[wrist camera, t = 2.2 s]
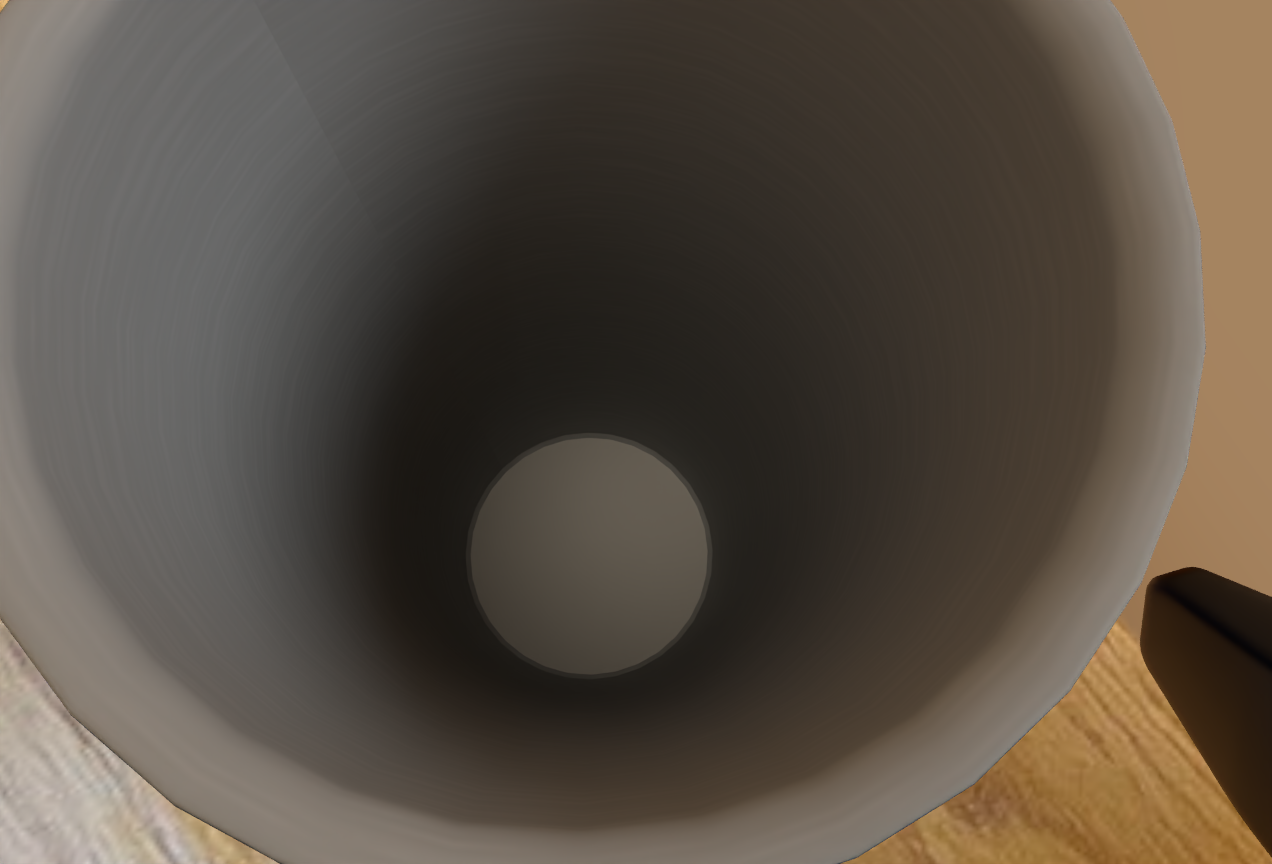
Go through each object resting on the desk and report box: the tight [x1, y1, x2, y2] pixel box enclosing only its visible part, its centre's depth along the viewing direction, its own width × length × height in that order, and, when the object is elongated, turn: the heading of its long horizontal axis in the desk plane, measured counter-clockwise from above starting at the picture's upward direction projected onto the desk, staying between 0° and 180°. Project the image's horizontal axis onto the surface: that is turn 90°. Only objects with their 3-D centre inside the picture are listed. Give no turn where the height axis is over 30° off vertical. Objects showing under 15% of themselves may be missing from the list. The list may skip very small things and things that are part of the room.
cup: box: [0, 0, 1206, 864], centre depth 13 cm, size 7×7×15 cm
